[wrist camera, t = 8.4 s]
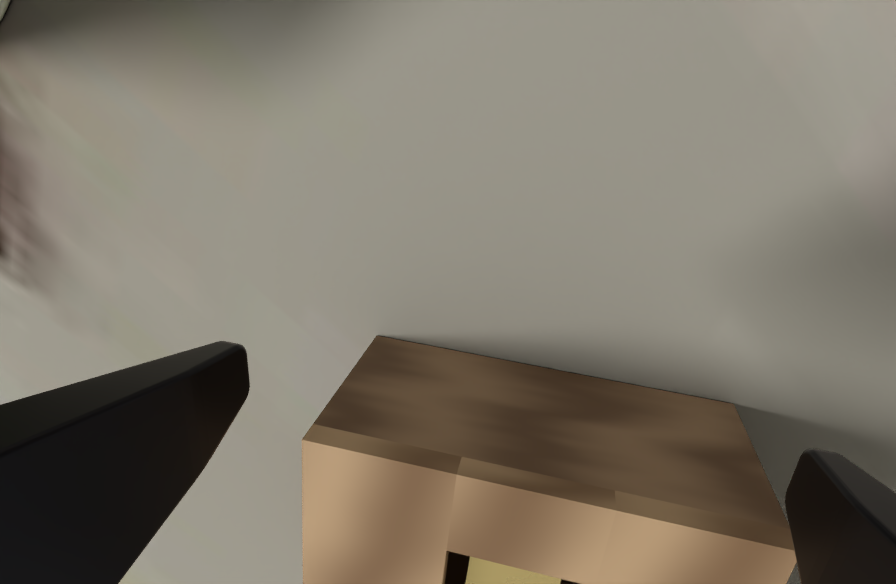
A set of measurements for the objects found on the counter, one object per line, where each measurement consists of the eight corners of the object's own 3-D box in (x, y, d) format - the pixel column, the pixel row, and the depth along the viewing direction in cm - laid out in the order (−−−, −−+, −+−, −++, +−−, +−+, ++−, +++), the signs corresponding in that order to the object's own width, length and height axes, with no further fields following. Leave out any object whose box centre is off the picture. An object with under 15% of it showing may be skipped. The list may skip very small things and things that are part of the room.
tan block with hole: (733, 404, 21) (801, 552, 15) (644, 649, 27) (665, 833, 20) (376, 335, 23) (301, 439, 17) (363, 576, 29) (303, 722, 22)
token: (565, 464, 23) (562, 576, 18) (538, 568, 25) (530, 692, 20) (493, 448, 23) (470, 552, 19) (474, 551, 26) (449, 668, 21)
